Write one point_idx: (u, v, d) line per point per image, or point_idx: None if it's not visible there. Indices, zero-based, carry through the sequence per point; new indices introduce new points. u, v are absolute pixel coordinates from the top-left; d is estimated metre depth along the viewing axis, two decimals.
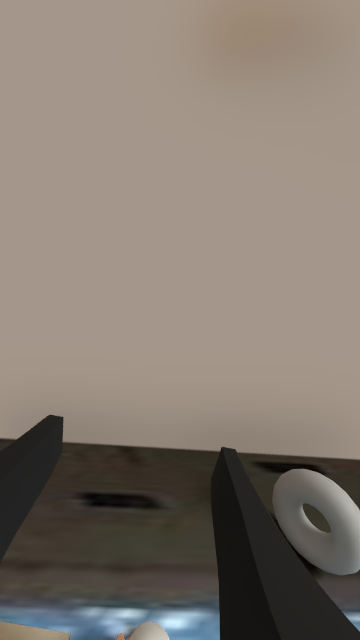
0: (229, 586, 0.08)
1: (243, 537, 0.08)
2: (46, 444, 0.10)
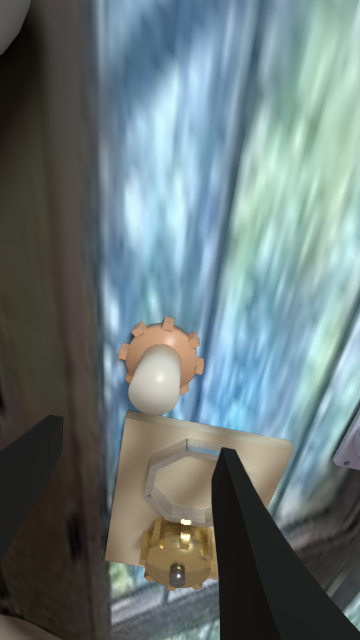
0: (229, 587, 0.08)
1: (243, 537, 0.08)
2: (46, 444, 0.10)
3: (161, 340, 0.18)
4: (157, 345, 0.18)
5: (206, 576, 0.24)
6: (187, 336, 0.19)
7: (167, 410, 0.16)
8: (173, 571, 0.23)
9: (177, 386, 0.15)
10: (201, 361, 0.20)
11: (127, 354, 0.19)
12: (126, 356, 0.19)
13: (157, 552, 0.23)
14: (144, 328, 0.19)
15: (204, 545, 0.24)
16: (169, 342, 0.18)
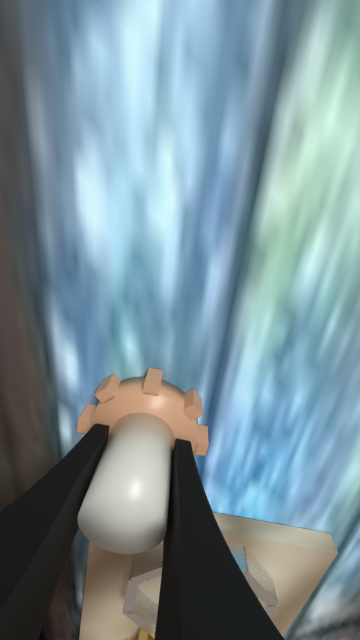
0: (165, 575, 0.08)
1: (177, 525, 0.08)
2: (98, 454, 0.10)
3: (141, 407, 0.12)
4: (135, 415, 0.12)
5: None
6: (183, 398, 0.12)
7: (147, 548, 0.09)
8: None
9: (163, 512, 0.09)
10: (204, 433, 0.13)
11: (90, 426, 0.12)
12: (88, 429, 0.12)
13: None
14: (116, 387, 0.12)
15: None
16: (154, 410, 0.12)
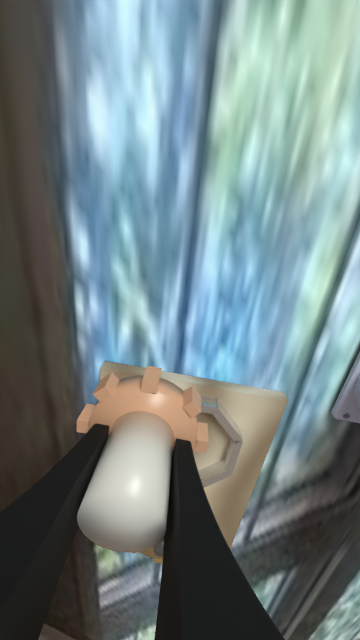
0: (165, 575, 0.08)
1: (177, 525, 0.08)
2: (98, 454, 0.10)
3: (139, 405, 0.12)
4: (134, 413, 0.12)
5: None
6: (182, 396, 0.12)
7: (147, 546, 0.09)
8: None
9: (163, 509, 0.09)
10: (204, 430, 0.13)
11: (89, 426, 0.12)
12: (88, 428, 0.12)
13: None
14: (114, 386, 0.12)
15: None
16: (153, 408, 0.12)
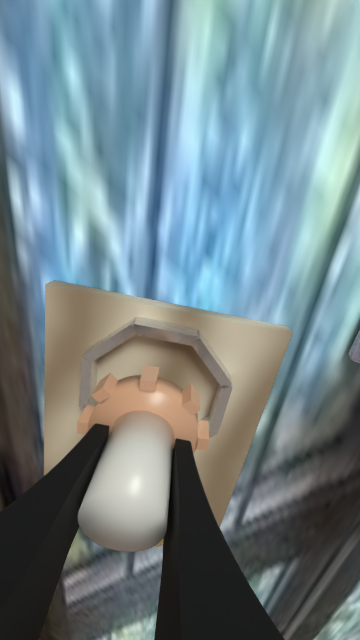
0: (165, 575, 0.08)
1: (177, 525, 0.08)
2: (98, 454, 0.10)
3: (138, 405, 0.12)
4: (133, 413, 0.12)
5: None
6: (180, 394, 0.12)
7: (149, 545, 0.09)
8: None
9: (163, 508, 0.09)
10: (205, 428, 0.13)
11: (90, 427, 0.12)
12: None
13: None
14: (112, 386, 0.12)
15: None
16: (152, 407, 0.12)
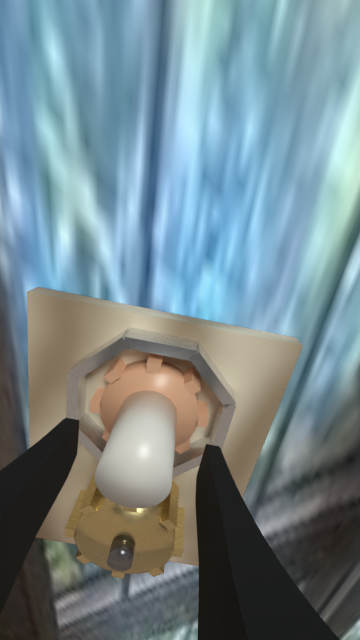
0: (207, 582, 0.08)
1: (220, 533, 0.08)
2: (64, 447, 0.10)
3: (145, 385, 0.13)
4: (140, 393, 0.13)
5: (168, 555, 0.16)
6: (183, 376, 0.14)
7: (156, 502, 0.11)
8: (114, 546, 0.15)
9: (168, 468, 0.10)
10: (204, 408, 0.14)
11: (101, 406, 0.14)
12: (100, 408, 0.14)
13: (89, 516, 0.15)
14: (122, 369, 0.14)
15: (164, 507, 0.15)
16: (157, 387, 0.13)
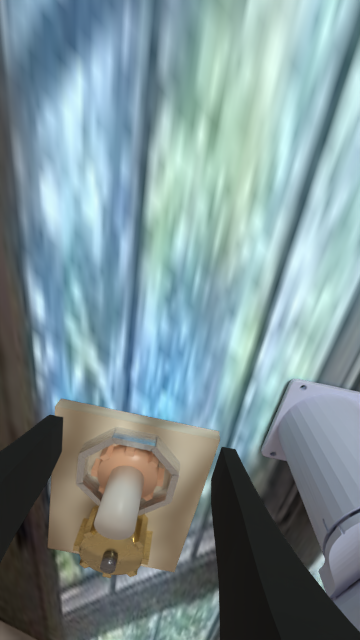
0: (229, 587, 0.08)
1: (243, 537, 0.08)
2: (46, 444, 0.10)
3: (124, 462, 0.22)
4: (121, 467, 0.22)
5: (139, 563, 0.25)
6: (148, 456, 0.22)
7: (127, 536, 0.19)
8: (105, 557, 0.24)
9: (133, 519, 0.19)
10: (162, 473, 0.23)
11: (98, 473, 0.22)
12: (97, 474, 0.23)
13: (89, 538, 0.24)
14: (111, 451, 0.22)
15: (137, 533, 0.24)
16: (132, 464, 0.22)
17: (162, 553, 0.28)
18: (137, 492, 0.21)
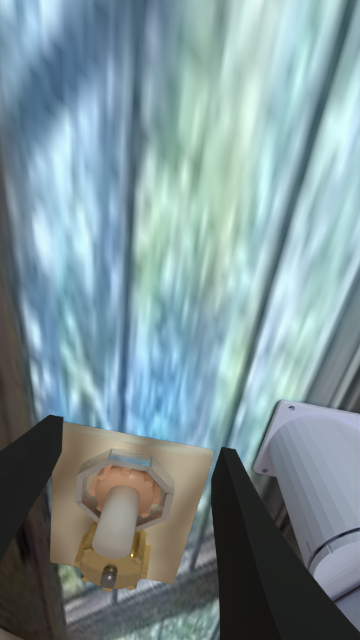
0: (229, 587, 0.08)
1: (243, 537, 0.08)
2: (46, 444, 0.10)
3: (121, 482, 0.23)
4: (118, 487, 0.23)
5: (138, 577, 0.25)
6: (144, 475, 0.23)
7: (124, 555, 0.20)
8: (104, 573, 0.25)
9: (129, 539, 0.20)
10: (158, 491, 0.24)
11: (96, 492, 0.23)
12: (95, 493, 0.23)
13: (89, 555, 0.25)
14: (108, 471, 0.23)
15: (135, 548, 0.25)
16: (128, 483, 0.23)
17: (161, 565, 0.29)
18: (133, 512, 0.21)
